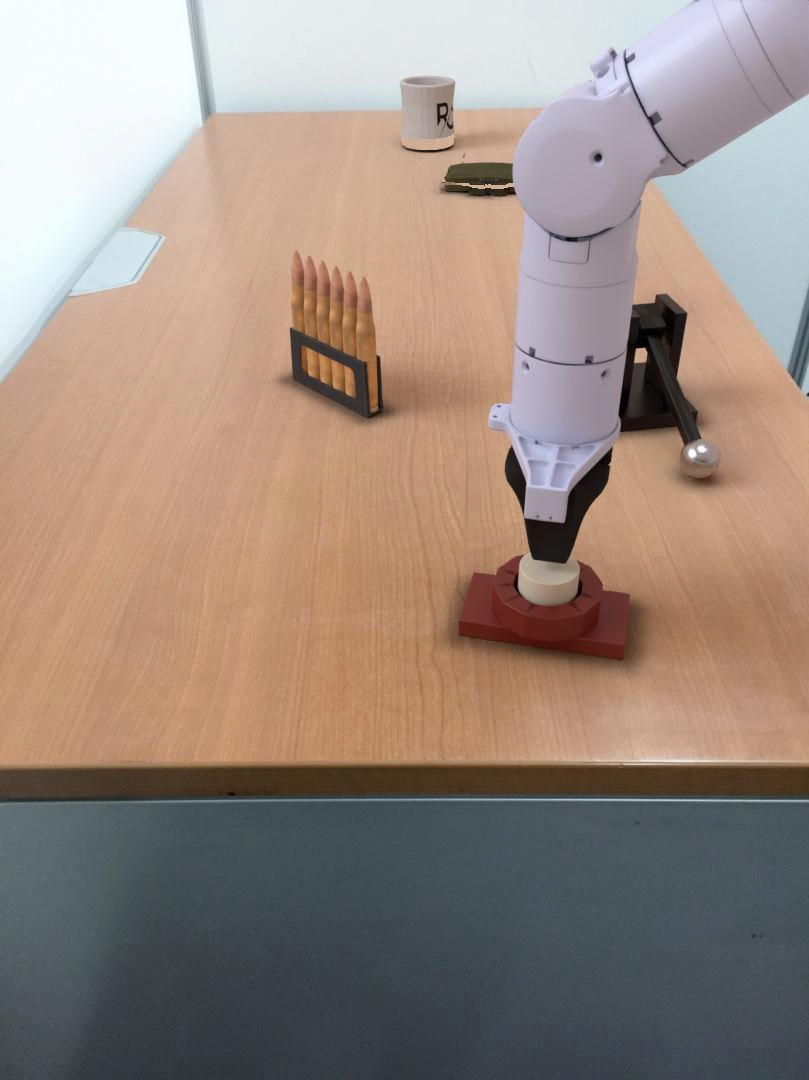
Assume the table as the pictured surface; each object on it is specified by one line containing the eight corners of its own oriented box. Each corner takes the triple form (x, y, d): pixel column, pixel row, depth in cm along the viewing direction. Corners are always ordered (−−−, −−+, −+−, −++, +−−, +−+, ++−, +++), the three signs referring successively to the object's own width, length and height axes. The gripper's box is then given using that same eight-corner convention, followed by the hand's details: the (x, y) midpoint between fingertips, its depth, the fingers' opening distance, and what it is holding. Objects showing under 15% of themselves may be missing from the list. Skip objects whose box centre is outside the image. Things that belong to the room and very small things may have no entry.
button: (580, 575, 59) (582, 552, 58) (574, 611, 57) (576, 588, 56) (522, 567, 60) (524, 544, 59) (513, 602, 57) (515, 579, 56)
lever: (718, 484, 73) (731, 460, 71) (681, 488, 73) (693, 464, 70) (652, 325, 82) (662, 299, 79) (619, 328, 82) (628, 301, 79)
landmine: (438, 175, 135) (450, 149, 147) (438, 194, 136) (450, 167, 148) (539, 178, 133) (543, 151, 145) (538, 197, 134) (542, 169, 146)
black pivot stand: (696, 424, 80) (714, 325, 75) (616, 432, 79) (629, 332, 74) (651, 373, 88) (665, 280, 83) (578, 379, 87) (587, 286, 82)
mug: (437, 155, 154) (438, 87, 148) (389, 148, 158) (388, 82, 152) (473, 139, 163) (475, 74, 157) (427, 133, 166) (427, 70, 161)
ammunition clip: (384, 411, 83) (380, 276, 76) (368, 418, 82) (362, 282, 75) (308, 372, 89) (297, 245, 82) (292, 378, 88) (280, 250, 81)
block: (628, 600, 61) (634, 563, 60) (622, 668, 56) (628, 630, 55) (475, 579, 63) (476, 542, 62) (455, 643, 58) (456, 605, 57)
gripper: (514, 285, 55) (503, 483, 63) (467, 397, 44) (460, 622, 52) (638, 295, 54) (610, 496, 62) (622, 413, 43) (591, 642, 51)
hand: (550, 555), depth 57 cm, fingers closed
